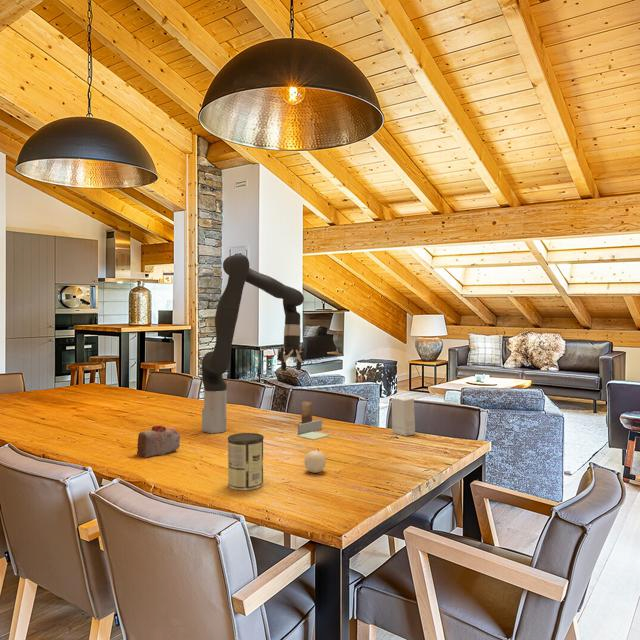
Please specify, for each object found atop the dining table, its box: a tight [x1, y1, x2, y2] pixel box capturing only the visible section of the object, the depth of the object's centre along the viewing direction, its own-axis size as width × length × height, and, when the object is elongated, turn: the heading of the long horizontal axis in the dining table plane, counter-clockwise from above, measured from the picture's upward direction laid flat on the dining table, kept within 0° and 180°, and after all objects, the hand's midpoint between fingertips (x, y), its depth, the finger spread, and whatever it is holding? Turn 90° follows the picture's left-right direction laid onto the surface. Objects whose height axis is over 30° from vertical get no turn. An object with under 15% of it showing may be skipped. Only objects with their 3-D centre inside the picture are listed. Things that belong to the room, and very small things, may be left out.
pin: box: [301, 400, 313, 424], centre depth 236 cm, size 5×5×11 cm
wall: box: [297, 419, 323, 435], centre depth 227 cm, size 14×1×4 cm, turn 140°
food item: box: [136, 425, 181, 459], centre depth 192 cm, size 14×8×10 cm, turn 138°
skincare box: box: [391, 396, 416, 437], centre depth 225 cm, size 8×6×15 cm
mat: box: [296, 431, 331, 441], centre depth 220 cm, size 10×9×1 cm
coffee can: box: [227, 432, 264, 491], centre depth 157 cm, size 10×10×14 cm
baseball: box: [303, 450, 327, 474], centre depth 171 cm, size 7×7×7 cm
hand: (291, 370), depth 246 cm, fingers open, 8 cm apart
